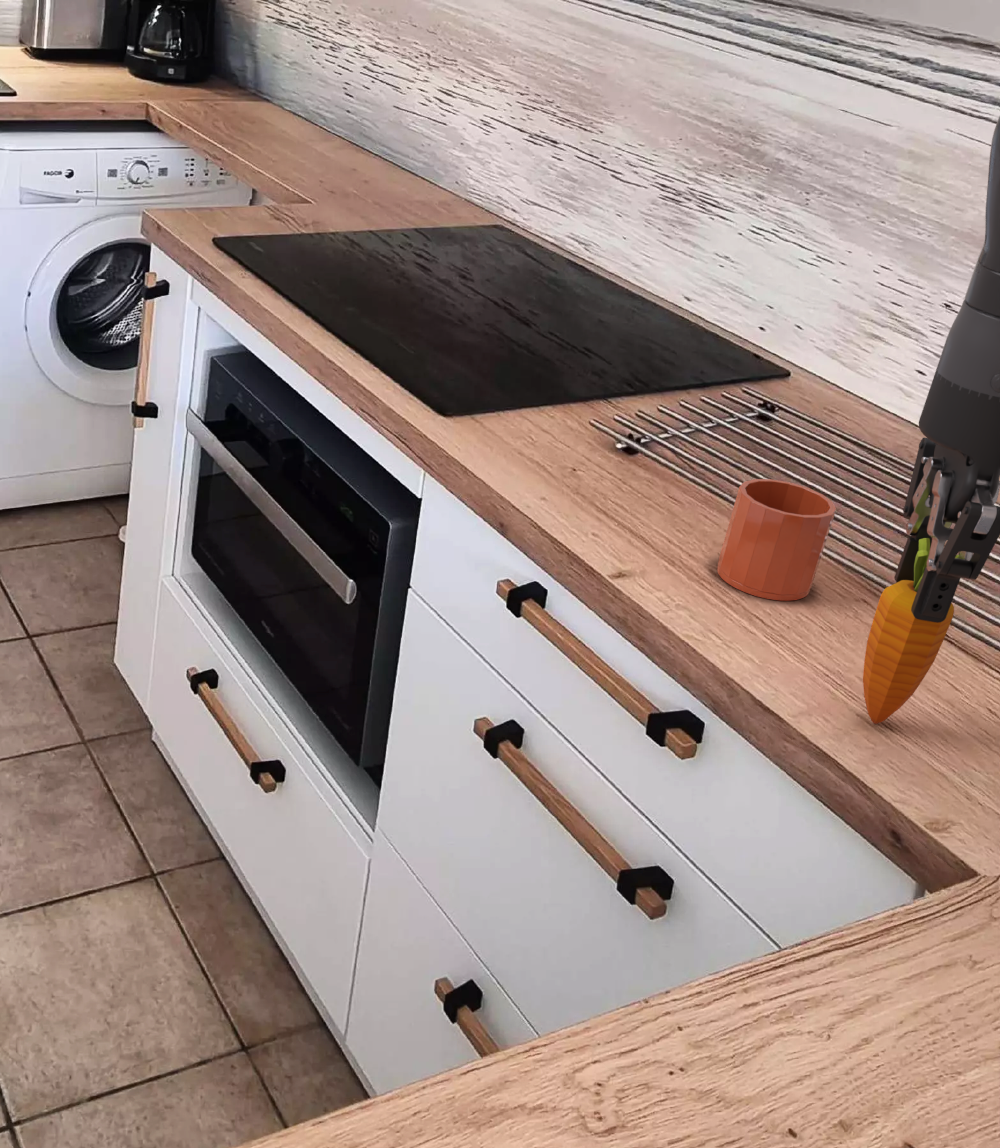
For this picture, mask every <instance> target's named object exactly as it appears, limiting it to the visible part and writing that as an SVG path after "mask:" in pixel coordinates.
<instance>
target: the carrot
mask: <svg viewBox="0 0 1000 1148" xmlns="http://www.w3.org/2000/svg"><path fill="white" fill-rule="evenodd" d="M929 552H930V539H929V538H923V539H920V540H919V551H918V552H917V555H916V558H915V563H914V581H910V580H902V581H899V582H897V583H896V582H895V583H893V584H891V585H888V586H886V587H885V588H884V590H882V592H881V595H880V597H879V600H878V603H877V606H876V610H875V612H874V616H873V619H872V622H871V626H870V630H869V634H868V637H867V641H866V647H865V655H864V660H863V661H864V663H863V674H862V685H863V686H862V687H863V697H864V702H865V707H866V711H867V715H868V717H869V719H870V720H871V722H872V724H874V725H877V724H880V723H882V722H884V721H886V720H888V719H889V718H890V717H891V716H892V715H893V714H894V713H896V712H897V711H899V709H901V708H902V706H903V705H904V704H905V703H906V702H908V701H909V699H910V698H911V697H913V695H914V694H915V692H916V691H917V689H918V687H919V686H920V685H921V683H922V682H923V680H924V679H925V677H926V675H927V674H928V672H929V671H930V669H931V667H932V666H933V664H934V662H935V661H936V657H937V655H938V654H939V651H940V649H941V647H942V644H943V643H944V640H945V638H946V635H947V633H948V630H949V628H950V625H951V623H952V621H953V618H954V614H955V606H954V604H953V602H952V603H951V605H950V608H949V611H948V613H947V616H946V619H945V620H944V621H942V622H939V623H937V622H931V621H925V620H919V619H916V618H915V617H914V615H913V613H912V611H911V607H912V605H913V602H914V599H915V596H916V593H917V591H918V588H919V585H920V582H921V579H922V576H923V574H924V571H925V568H926V567H927V560H928V556H929ZM958 557H959V554H957V555H956V557H955V558H958Z"/></svg>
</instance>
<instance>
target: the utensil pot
mask: <svg viewBox="0 0 1000 1148" xmlns="http://www.w3.org/2000/svg"><path fill="white" fill-rule="evenodd" d="M836 511H837V508H836V506H835V504H834V502H833V501H832V500H831V499H830V498H828V497H827V496H825V495H824V494H822V493H821V492H818V491H816V490H814V489H812V488H810V487H807V486H803V485H800V484H796V483H793V482H791V481H790V482H789V481H785V480H779V479H774V478H773V479H772V478H771V479H770V478H754V479H749V480H746V481H743V482H742V483H741V485H739V487H738V490H737V494H736V498H735V501H734V505H733V508H732V512H731V515H730V518H729V522H728V526H727V529H726V532H725V535H724V540H723V543H722V546H721V550H720V554H719V557H718V561H717V567H716V572H717V574H718V576H719V577H720V579H722V580H723V581H724V582H725V583H727V584H728V585H729V586H731V587H733V588H735V589H737V590H738V591H741V592H743V593H745V594H748V595H752V596H755V597H758V598H762V599H766V600H774V601H781V602H782V601H783V602H785V601H786V602H789V601H797V600H801V599H803V598H805V597H807V596H808V595H809V593H810V591H811V588H812V586H813V583H814V580H815V577H816V575H817V571H818V567H819V564H820V561H821V559H822V555H823V553H824V549H825V546H826V543H827V540H828V536H829V533H830V530H831V527H832V523H833V522H834V518H835V514H836Z"/></svg>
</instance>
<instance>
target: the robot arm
mask: <svg viewBox="0 0 1000 1148" xmlns="http://www.w3.org/2000/svg"><path fill="white" fill-rule="evenodd" d="M986 188H987V189H986V199H985V215H984V216H985V219H984V220H985V221H984V222H985V223H984V227H985V230H984V241H983V244H982V246H981V249H980V252H979V255H978V257H977V260H976V263H975V265H974V269H973V272H972V275H971V278H970V281H969V283H968V286H967V288H966V289H967V290H966V293H965V294H964V299H963V301H962V303H961V305H960V306H961V307H960V309H959V311H958V313H957V315H956V317H955V318H954V321H953V322H952V323H951V327H950V329H949V331H948V333H947V336H946V338H945V342H944V346H943V348H942V351H941V354H940V358H939V360H938V363H937V366H936V370H935V372H934V375H933V378H932V381H931V384H930V388H929V390H928V393H927V395H926V399H925V402H924V404H923V408H922V410H921V414H920V417H919V420H918V428H919V431H920V432H921V433H922V435H923V436H924V437H922V439H921V440H920V442H919V444H918V450H917V454H916V458H915V462H914V466H913V470H912V474H911V479H910V482H909V487H908V491H907V495H906V499H905V503H904V506H903V508H902V512H903V514H902V515H903V518H905V519H908V521H907V523H906V525H905V532H906V536H907V535H908V537H907V540H906V542H905V545H904V547H903V550H902V554H901V556H900V559H899V563H898V566H897V568H896V571H895V574H894V581H895V583H897V582H899V581H902V580H910V581H914V563H915V558H916V555H917V552H918V551H919V540H920V539H923V538H929V539H930V552H929V556H928V560H927V567H926V568H925V571H924V574H923V576H922V579H921V582H920V585H919V588H918V591H917V593H916V596H915V599H914V602H913V605H912V607H911V611H912V613H913V615H914V617H915V618H916V619H919V620H925V621H931V622H937V623H939V622H942V621H944V620H945V619H946V616H947V613H948V611H949V608H950V605H951V603H952V604H953V599H954V597H955V595H956V592H957V589H958V586H959V583H960V581H961V579H967V580H972V581H976V580H977V579H978V578H979V576H980V574H981V572H982V570H983V568H984V567H985V564H986V563H987V561H988V558H989V556H990V555H991V552H992V551H993V549H994V547H995V545H996V543H997V541H998V539H999V537H1000V506H999V505H995V504H996V503H997V501H998V498H999V494H1000V115H999V116H998V119H997V122H996V124H995V126H994V130H993V133H992V138H991V143H990V151H989V162H988V174H987V187H986ZM953 524H955V525H954V527H953V528H951V527H952V525H953ZM956 555H959V557H958V558H955V557H956Z"/></svg>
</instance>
